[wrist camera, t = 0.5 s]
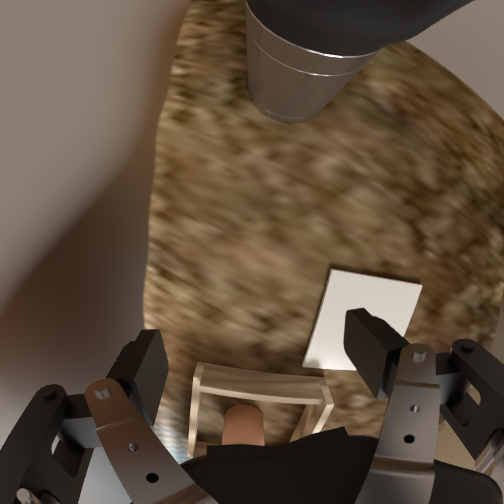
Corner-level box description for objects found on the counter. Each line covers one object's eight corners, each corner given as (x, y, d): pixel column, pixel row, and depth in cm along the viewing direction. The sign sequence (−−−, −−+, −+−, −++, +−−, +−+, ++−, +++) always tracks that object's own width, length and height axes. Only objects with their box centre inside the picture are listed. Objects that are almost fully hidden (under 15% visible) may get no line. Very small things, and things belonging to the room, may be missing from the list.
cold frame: (197, 361, 35) (189, 389, 29) (324, 377, 36) (334, 404, 30) (190, 442, 39) (185, 467, 34) (288, 453, 40) (291, 477, 34)
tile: (330, 268, 32) (332, 269, 31) (420, 284, 33) (422, 285, 32) (301, 364, 35) (302, 366, 35) (386, 368, 36) (387, 370, 35)
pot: (227, 401, 37) (222, 446, 28) (266, 406, 37) (269, 451, 28) (222, 425, 38) (218, 467, 29) (258, 429, 38) (260, 472, 30)
